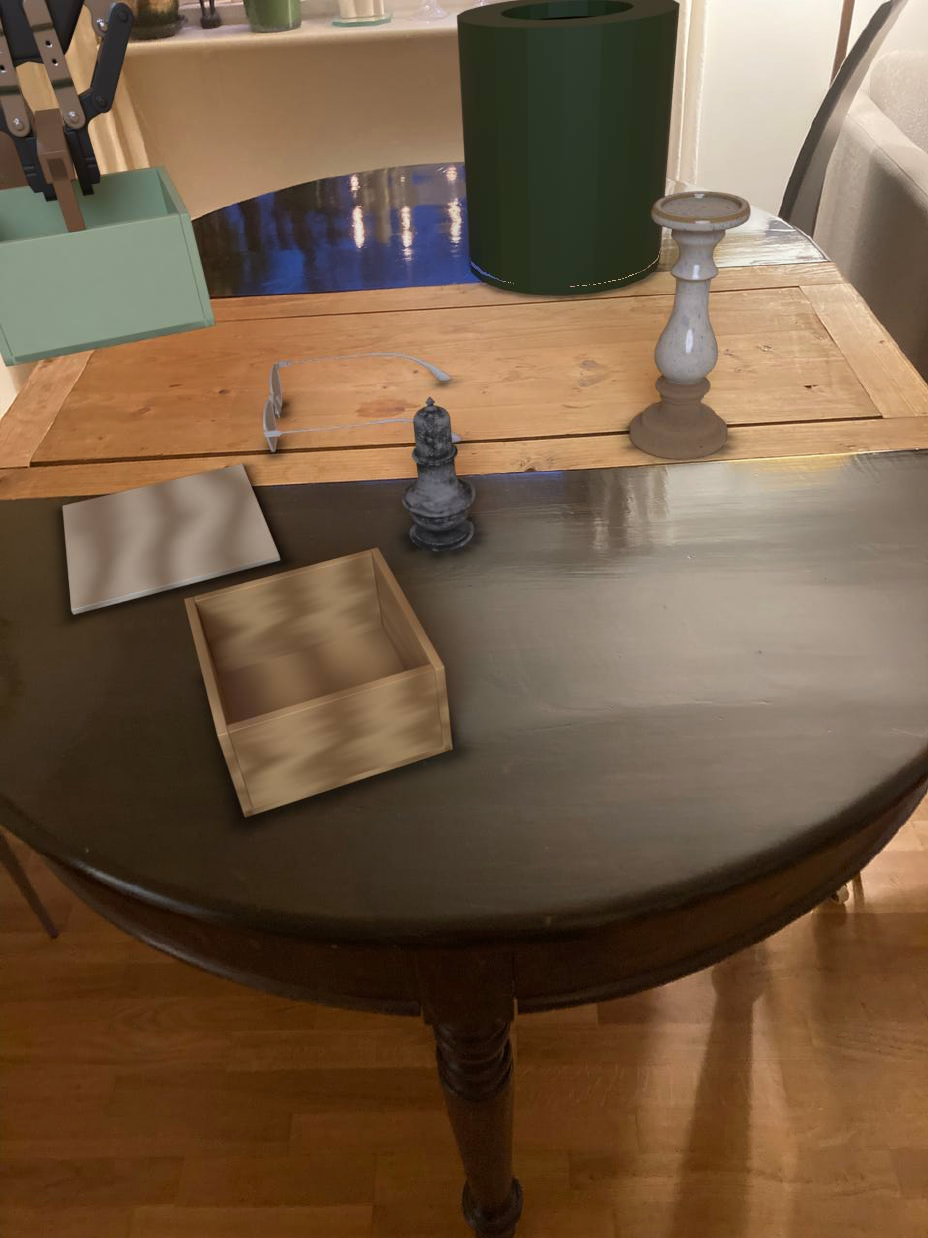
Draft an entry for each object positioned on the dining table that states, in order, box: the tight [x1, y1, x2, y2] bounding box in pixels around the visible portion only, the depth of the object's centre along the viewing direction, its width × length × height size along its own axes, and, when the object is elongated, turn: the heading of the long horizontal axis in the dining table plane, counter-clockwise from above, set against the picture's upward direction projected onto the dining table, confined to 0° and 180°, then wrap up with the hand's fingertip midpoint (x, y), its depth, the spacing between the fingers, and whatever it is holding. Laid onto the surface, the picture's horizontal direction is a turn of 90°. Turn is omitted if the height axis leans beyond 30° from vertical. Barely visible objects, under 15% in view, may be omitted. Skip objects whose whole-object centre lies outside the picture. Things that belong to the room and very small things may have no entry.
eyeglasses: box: [262, 352, 463, 453], centre depth 90 cm, size 15×18×4 cm
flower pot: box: [456, 0, 681, 296], centre depth 114 cm, size 25×25×28 cm
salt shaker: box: [401, 396, 477, 552], centre depth 71 cm, size 6×6×12 cm
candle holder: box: [629, 190, 752, 460], centre depth 78 cm, size 9×9×20 cm
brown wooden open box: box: [184, 547, 454, 818], centre depth 58 cm, size 13×13×7 cm
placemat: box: [62, 463, 281, 615], centre depth 77 cm, size 16×16×1 cm
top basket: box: [0, 107, 217, 368], centre depth 59 cm, size 13×13×11 cm
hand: (70, 194), depth 58 cm, fingers closed on top basket
